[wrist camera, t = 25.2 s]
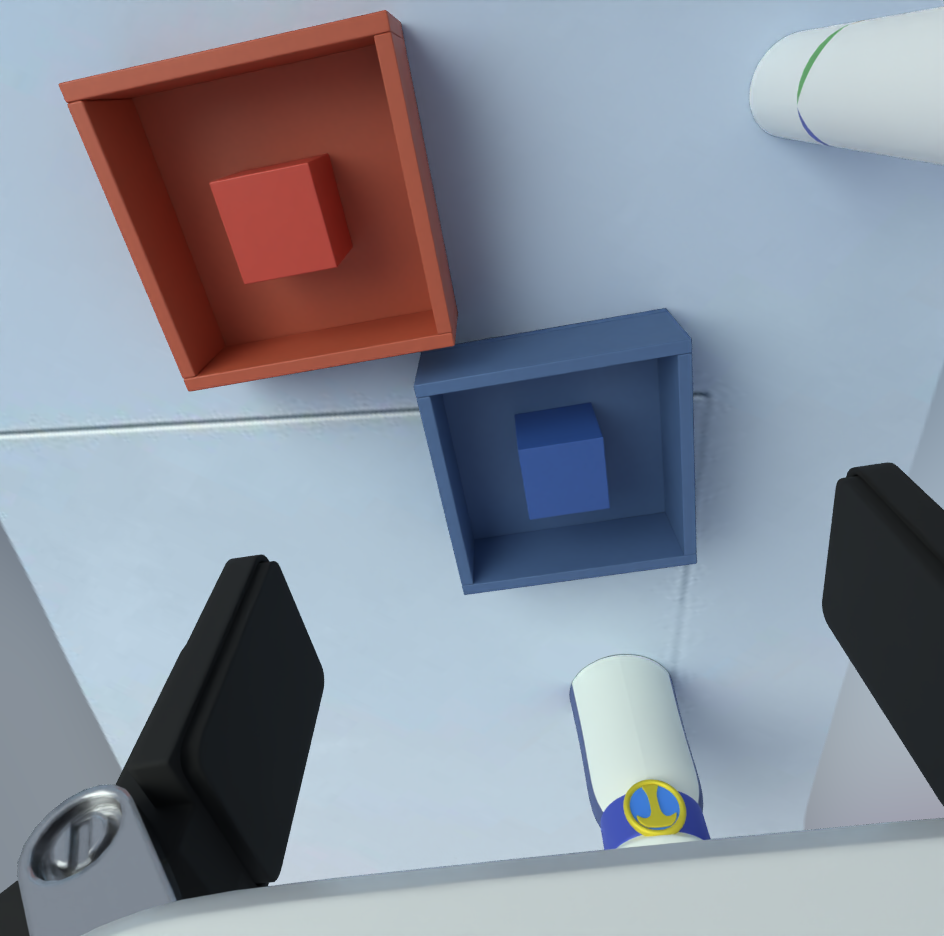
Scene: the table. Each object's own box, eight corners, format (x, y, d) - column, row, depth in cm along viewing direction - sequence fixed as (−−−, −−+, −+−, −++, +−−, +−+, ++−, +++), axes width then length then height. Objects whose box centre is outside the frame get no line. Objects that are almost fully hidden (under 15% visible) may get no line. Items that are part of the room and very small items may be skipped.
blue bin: (421, 349, 37) (413, 385, 33) (666, 307, 36) (692, 338, 31) (465, 543, 44) (464, 595, 39) (674, 513, 42) (697, 564, 38)
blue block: (513, 414, 38) (517, 450, 34) (590, 401, 38) (603, 437, 34) (524, 479, 40) (529, 520, 37) (597, 468, 40) (610, 508, 36)
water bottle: (555, 657, 49) (616, 1120, 27) (674, 644, 48) (838, 1109, 26) (565, 733, 53) (625, 1189, 31) (675, 722, 52) (818, 1182, 30)
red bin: (117, 84, 31) (57, 83, 26) (400, 21, 30) (386, 9, 25) (222, 356, 37) (187, 392, 33) (458, 314, 36) (455, 346, 32)
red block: (240, 171, 32) (208, 182, 28) (328, 152, 32) (308, 162, 28) (270, 263, 34) (243, 285, 30) (353, 247, 34) (337, 267, 30)
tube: (843, 14, 29) (1133, -43, 16) (848, 119, 31) (1110, 143, 18) (743, 51, 30) (945, 24, 17) (754, 151, 32) (942, 195, 19)
